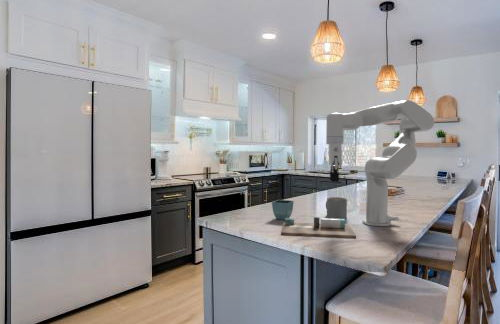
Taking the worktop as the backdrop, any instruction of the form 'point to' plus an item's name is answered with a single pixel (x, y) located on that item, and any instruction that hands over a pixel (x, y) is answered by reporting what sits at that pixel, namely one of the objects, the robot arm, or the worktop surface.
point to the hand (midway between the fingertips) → (334, 180)
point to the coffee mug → (336, 208)
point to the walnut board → (315, 229)
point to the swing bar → (332, 223)
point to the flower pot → (282, 208)
